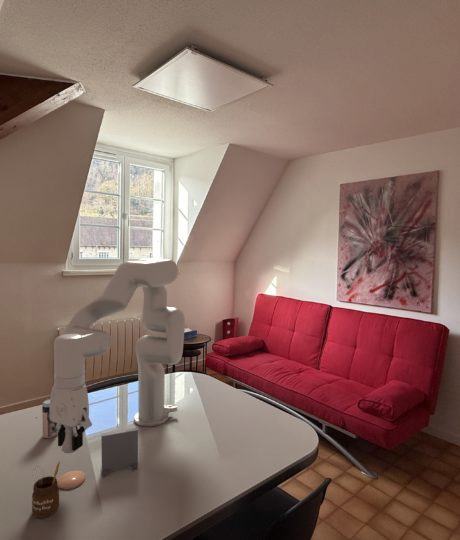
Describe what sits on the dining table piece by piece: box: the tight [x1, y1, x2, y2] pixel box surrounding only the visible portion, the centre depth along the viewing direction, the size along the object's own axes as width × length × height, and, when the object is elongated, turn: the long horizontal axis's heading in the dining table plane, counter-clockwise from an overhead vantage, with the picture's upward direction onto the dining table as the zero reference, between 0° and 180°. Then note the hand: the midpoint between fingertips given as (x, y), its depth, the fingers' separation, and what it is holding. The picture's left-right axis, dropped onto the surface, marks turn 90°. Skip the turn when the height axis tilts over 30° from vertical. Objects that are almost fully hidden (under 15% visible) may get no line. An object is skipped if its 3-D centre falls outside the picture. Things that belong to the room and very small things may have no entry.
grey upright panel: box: [100, 427, 139, 478], centre depth 106 cm, size 10×5×11 cm, turn 112°
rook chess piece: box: [61, 425, 77, 454], centre depth 99 cm, size 4×4×8 cm
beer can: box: [41, 398, 58, 439], centre depth 123 cm, size 5×5×12 cm
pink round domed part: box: [57, 470, 86, 490], centre depth 100 cm, size 7×7×1 cm
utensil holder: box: [31, 461, 61, 519], centre depth 89 cm, size 6×6×12 cm
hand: (70, 445), depth 100 cm, fingers closed on rook chess piece, 4 cm apart
